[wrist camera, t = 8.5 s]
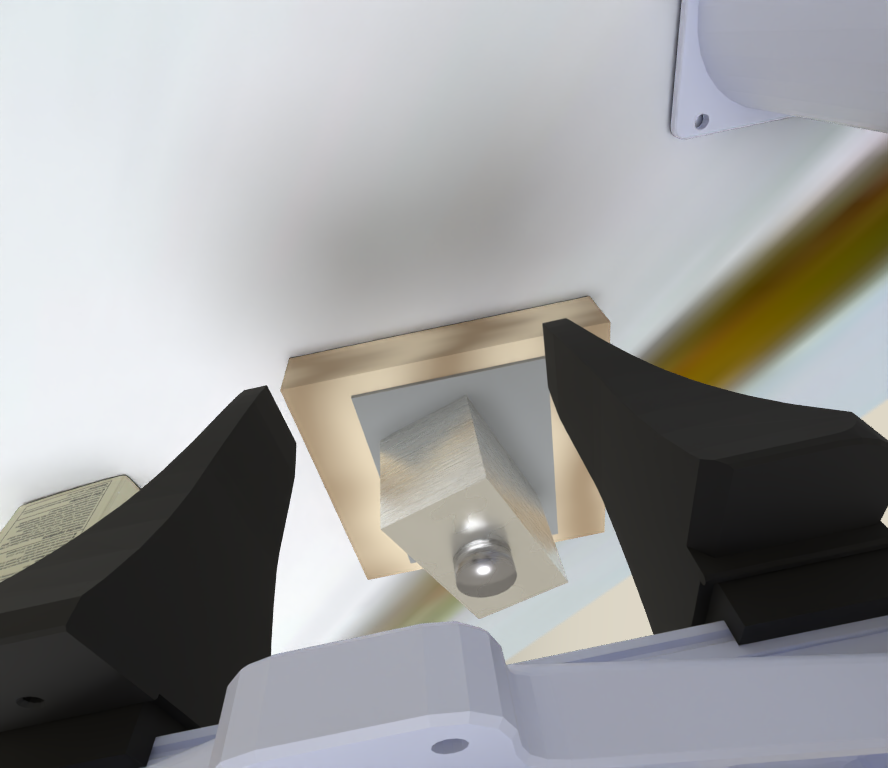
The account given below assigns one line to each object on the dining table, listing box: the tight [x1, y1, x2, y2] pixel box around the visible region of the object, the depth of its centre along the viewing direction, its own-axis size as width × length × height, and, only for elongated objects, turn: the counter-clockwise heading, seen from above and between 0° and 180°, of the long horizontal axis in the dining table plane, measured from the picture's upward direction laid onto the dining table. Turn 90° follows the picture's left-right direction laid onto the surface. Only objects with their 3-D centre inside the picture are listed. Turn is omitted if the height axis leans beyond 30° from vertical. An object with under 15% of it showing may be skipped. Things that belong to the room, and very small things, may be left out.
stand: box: [280, 296, 610, 580], centre depth 25 cm, size 14×14×3 cm
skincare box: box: [0, 476, 140, 582], centre depth 22 cm, size 6×4×12 cm
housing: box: [380, 395, 568, 619], centre depth 22 cm, size 4×8×6 cm, turn 30°
